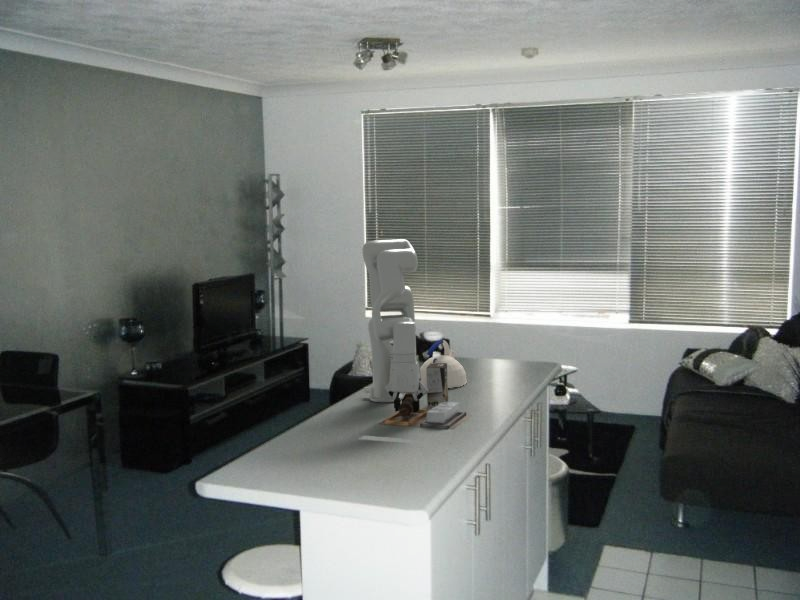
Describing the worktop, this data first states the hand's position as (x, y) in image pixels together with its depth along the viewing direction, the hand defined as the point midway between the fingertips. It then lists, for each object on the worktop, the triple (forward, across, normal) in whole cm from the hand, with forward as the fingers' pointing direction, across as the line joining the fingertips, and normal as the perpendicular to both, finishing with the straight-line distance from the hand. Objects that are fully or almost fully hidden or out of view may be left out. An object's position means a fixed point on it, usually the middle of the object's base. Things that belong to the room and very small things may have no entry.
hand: (406, 410), depth 271 cm
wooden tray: (+4, +7, 0) cm, 8 cm away
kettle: (+4, -9, +59) cm, 60 cm away
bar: (+2, +13, 0) cm, 13 cm away
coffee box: (+4, +5, +17) cm, 18 cm away
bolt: (+1, 0, +1) cm, 1 cm away
